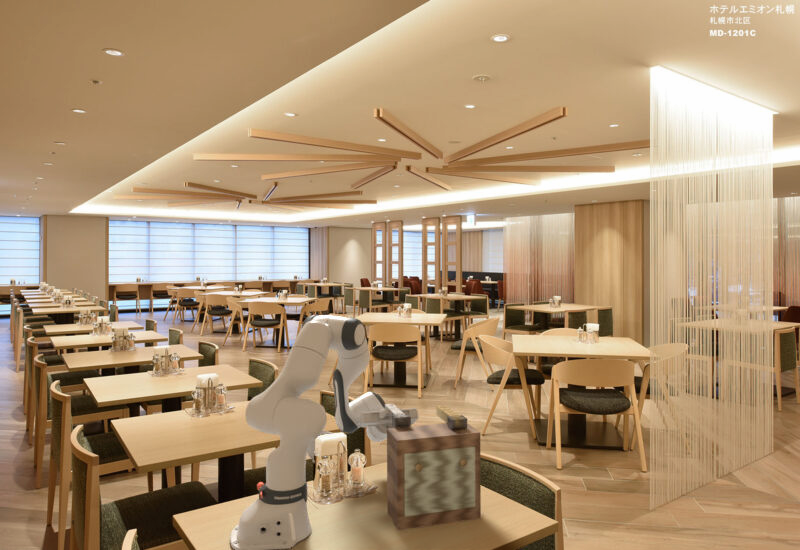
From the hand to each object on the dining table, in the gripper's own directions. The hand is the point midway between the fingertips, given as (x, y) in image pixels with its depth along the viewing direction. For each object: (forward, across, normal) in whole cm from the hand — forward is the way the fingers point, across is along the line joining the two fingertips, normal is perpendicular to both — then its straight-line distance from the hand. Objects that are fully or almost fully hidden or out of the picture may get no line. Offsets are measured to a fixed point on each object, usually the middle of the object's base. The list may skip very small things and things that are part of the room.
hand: (393, 411), depth 176 cm
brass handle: (+8, +16, +7) cm, 19 cm away
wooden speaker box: (0, +8, +33) cm, 34 cm away
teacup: (-49, -21, +5) cm, 54 cm away
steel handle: (+1, 0, +3) cm, 3 cm away
